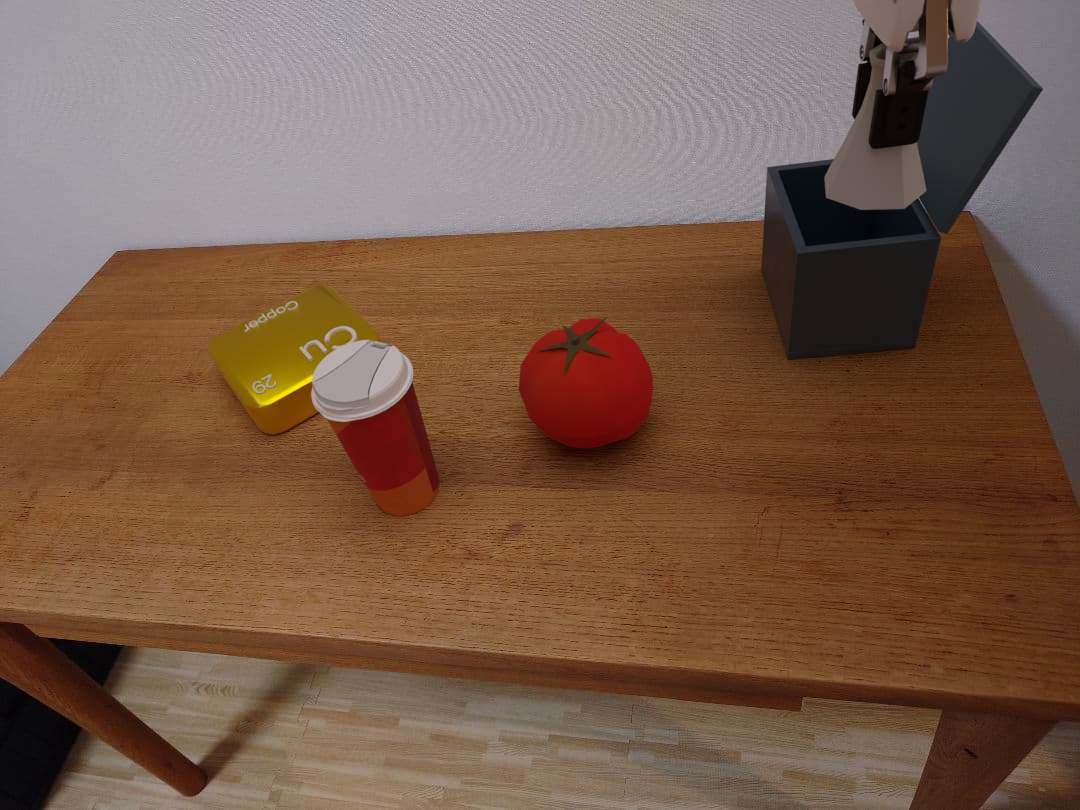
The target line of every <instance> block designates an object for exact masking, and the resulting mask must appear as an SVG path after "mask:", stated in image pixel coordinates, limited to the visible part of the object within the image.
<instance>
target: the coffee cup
mask: <svg viewBox="0 0 1080 810" xmlns="http://www.w3.org/2000/svg"><path fill="white" fill-rule="evenodd" d="M413 379H414V367H413V364H412V362H411V360H410V359H409V357H407V356H406V355H405V354H404V353H402V352H401V351H400V349H398V347H397V346H395V345H393V344H392V345H389V343H385V342H382V341H381V342H377V341H375V342H371V340H362V341H356V342H353V343H349V344H347V345H344V346H342V347H340V348H338V349H336V350H334V351H333V352H331V353H330V354H329V355H327V356H326V357H325V358H324V359H323V360H322V361H321V362H320V363H319V365H318V366H317V368H316V369H315V371H314V374H313V378H312V392H311V397H312V402H313V405H314V406H315V408H316V409H317V410H318V411H319V412H318V413H320V415H322V417H323V418H324V419H326V420H327V422H328V424H329V426H330V427H331V429H332V431H333V432H334V434H335V436H336V437H337V439H338V441H339V443H340V444H341V446H342V448H343V449H344V451H345V453H346V455H347V457H348V459H349V460H350V462H351V463H352V465H353V467H354V469H355V470H356V472H357V474H358V475H359V478H360V479H361V480H362V482H363V483H364V486H365V487H366V489H367V490H368V492H369V494H370V495H371V497H372V499H373V500H374V502H375V503H376V505H377V507H378V508H380V509H381V510H382V511H383V512H384V513H386V514H388V515H391V516H395V517H406V516H410V515H414V514H416V513H418V512H420V511H422V510H424V509H425V508H427V507H428V506H429V505H430V504H431V503H432V502H433V501H434V500H435V498H436V496H437V494H438V492H439V489H440V480H439V475H438V471H437V466H436V462H435V459H434V455H433V452H432V451H433V450H432V447H431V444H430V440H429V436H428V433H427V429H426V425H425V423H424V419H423V416H422V411H421V408H420V405H419V404H420V403H419V401H418V397H417V393H416V390H415V386H414V383H413Z"/></svg>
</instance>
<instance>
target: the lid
mask: <svg viewBox="0 0 1080 810" xmlns="http://www.w3.org/2000/svg"><path fill="white" fill-rule="evenodd" d="M1043 90H1044V88H1043V87H1042V85H1040V84H1039V82H1037V81H1036V80H1035V79H1034V77H1032V75H1030V74H1029V72H1028V71H1027V70H1026V69H1025V68H1024V67H1023V66H1022V65H1021V64H1020V63H1019V62H1018V61H1017V60H1016V59H1015V58H1014V57H1013V56H1012V55H1011V54H1010V53H1009V51H1007V50H1006V49H1005V48H1004V46H1002V45H1001V44H1000V43H999V42H998V40H997V39H995V37H994V36H992V35H991V33H990V32H989V31H988V30H987V29H986V28H985V27H984V26H983V25H982V23H980V22H979V21H978V20H977V23H976V27H975V31H974V33H973V35H972V37H971V38H970V39H969V40H968V41H967V42H964V43H958V42H956V41H954V40H953V39H952V38H951V37H950V36H949V35H948V67H947V71H946V73H945V74H942V75H939V76H936V77H934V79H933V85H932V88H931V89H930V90H929V92H928V97H927V102H926V107H925V112H924V117H923V122H922V127H921V132H920V137H919V140H918V141H917V146H918V151H919V156H920V161H921V166H922V170H923V175H924V180H925V186H926V192H924V193H923V194H922V195H921V196H920V197H918V199H919V200H920V202H921V204H922V205H923V207H924V209H925V211H926V212H927V214H928V216H929V217H930V219H931V221H932V223H933V224H934V226H935V228H936V229H937V231H938V233H941V234H948V233H949V232H950V230H951V229H952V227H953V226H954V224H955V223H956V221H958V218H959V217H960V216H961V214H962V212H964V209H965V208H966V206H967V205H968V204H969V202H970V200H971V199H972V197H973V196H974V194H975V193H976V191H977V190H978V188H979V187H980V185H981V184H982V183H983V181H984V180H985V178H986V176H987V174H988V173H989V172H990V170H991V169H992V167H993V166H994V164H995V163H996V161H997V160H998V158H999V157H1000V155H1001V154H1002V152H1003V151H1004V149H1005V147H1006V146H1007V144H1008V143H1009V141H1010V140H1011V139H1012V137H1013V136H1014V134H1015V132H1016V131H1017V129H1018V128H1019V126H1020V125H1021V123H1022V122H1023V121H1024V119H1025V118H1026V117H1027V115H1028V113H1029V112H1030V110H1031V109H1032V107H1033V105H1034V104H1035V102H1036V101H1037V100H1038V98H1039V96H1040V95H1041V93H1042V92H1043Z"/></svg>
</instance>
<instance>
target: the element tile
mask: <svg viewBox="0 0 1080 810" xmlns="http://www.w3.org/2000/svg"><path fill="white" fill-rule="evenodd" d="M362 340H371V342H375V341H377V342H382V340H381V337H380V335H379V332H378V331H377V330H376V329H375V328H374V327H373V326H372V325H371V324H370V323H369V322H368V321H367V320H366V319H365V318H364V317H363V316H362V315H361V314H359V312H358V311H357V310H355V309H354V308H353V307H352V305H350V304H349V302H347V301H346V300H345V299H344V298H343V297H342V296H341V294H339V293H338V292H337V291H336V289H334V288H333V287H332V286H329V285H326V284H318V285H314V286H312V287H309V288H307V289H305V290H303V291H301V292H299V293H297V294H295V295H293V296H292V297H289V298H288V299H286V300H284V301H281V302H280V303H278V304H276V305H274V306H272V307H270V308H268V309H266V310H264V311H261V312H260V313H259V314H255V316H252V317H250V318H248V319H246V320H244V321H243V322H240V323H238V324H237V325H234V326H233V327H231V328H229V329H227V330H225V331H223V332H221V333H219V334H218V335H216V336H215V337H213V338H212V339H211V340H210V342H209V344H208V346H207V351H208V354H209V356H210V357H211V359H212V361H213V362H214V364H215V366H216V367H217V369H218V371H219V373H220V375H221V376H222V378H223V379H224V381H225V382H226V383H227V385H228V386H229V388H230V389H231V390H232V392H233V394H234V395H235V397H236V398H237V399H238V401H239V402H240V404H241V406H242V407H243V408H244V410H245V411H246V413H247V414H248V415H249V417H250V418H251V420H252V421H253V422H254V424H255V425H256V427H257V429H258V430H259V431H260V432H262V433H264V434H266V435H278V434H282V433H284V432H286V431H288V430H290V429H292V428H294V427H295V426H297V425H299V424H301V423H303V422H304V421H306V420H308V419H309V418H311V417H313V416H315V415H316V414H318V413H320V412H319V411H318V410H317V409H316V408H315V406H314V405H313V402H312V397H311V392H312V378H313V374H314V371H315V369H316V368H317V366H318V365H319V363H320V362H321V361H322V360H323V359H324V358H325V357H326V356H327V355H329V354H330V353H331V352H333V351H334V350H336V349H338V348H340V347H342V346H344V345H347V344H349V343H353V342H356V341H362Z"/></svg>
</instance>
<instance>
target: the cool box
mask: <svg viewBox="0 0 1080 810" xmlns="http://www.w3.org/2000/svg"><path fill="white" fill-rule="evenodd" d="M833 160H834V158H833V159H832V158H831V159H830V158H829V159H821V160H814V161H805V162H798V163H789V164H782V165H781V164H780V165H772V166H767V167H766V180H765V197H764V198H765V199H764V215H763V233H762V250H761V251H762V252H761V266H760V267H761V269H760V270H761V272H762V276H763V279H764V283H765V287H766V290H767V294H768V297H769V300H770V301H769V302H770V304H771V307H772V310H773V315H774V318H775V321H776V324H777V327H778V331H779V335H780V338H781V341H782V344H783V345H782V346H783V349H784V352H785V356H786V359H787V360H797V359H798V360H799V359H808V358H809V359H810V358H818V357H819V358H820V357H829V356H830V357H831V356H841V355H851V354H852V355H853V354H862V353H872V352H883V351H884V352H885V351H894V350H904V349H905V350H907V349H915V348H916V345H917V340H918V337H919V333H920V329H921V325H922V320H923V317H924V312H925V308H926V304H927V299H928V296H929V292H930V287H931V282H932V279H933V274H934V271H935V265H936V262H937V258H938V254H939V250H940V245H941V242H942V237H941V235H940V232H939V231H938V230H937V228H936V226H935V225H934V223H933V221H932V219H931V218H930V216H929V214H928V213H927V211H926V209H925V208H924V206H923V204H922V202H921V201H920V199H919V197H918V198H917V199H916V200H915V201H913V202H912V203H911V204H910V205H908V206H907V207H906V208H905V209H879V210H860V209H857V208H854V207H851V206H849V205H846V204H843V203H840V202H837V201H834V200H831V199H829V198H826V190H825V179H824V177H825V175H826V173H827V171H828V169H829V167H830V165H831V164H832V162H833Z"/></svg>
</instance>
